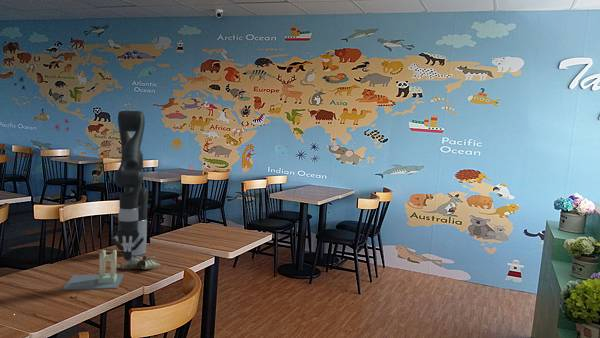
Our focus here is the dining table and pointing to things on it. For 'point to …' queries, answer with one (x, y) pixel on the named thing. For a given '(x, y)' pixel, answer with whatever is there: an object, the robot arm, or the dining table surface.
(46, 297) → the dining table surface
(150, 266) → the figurine
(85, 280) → the mat
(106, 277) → the stool
